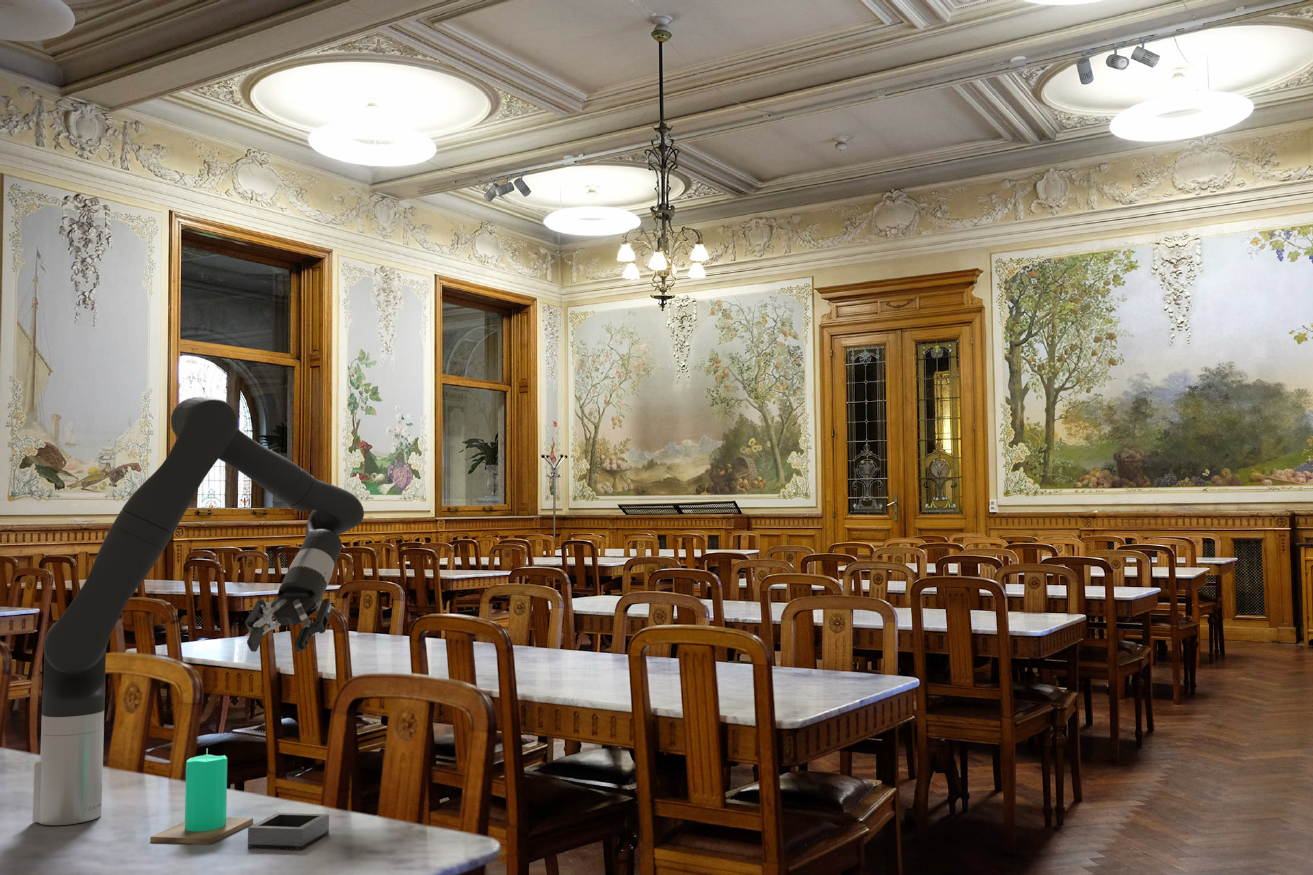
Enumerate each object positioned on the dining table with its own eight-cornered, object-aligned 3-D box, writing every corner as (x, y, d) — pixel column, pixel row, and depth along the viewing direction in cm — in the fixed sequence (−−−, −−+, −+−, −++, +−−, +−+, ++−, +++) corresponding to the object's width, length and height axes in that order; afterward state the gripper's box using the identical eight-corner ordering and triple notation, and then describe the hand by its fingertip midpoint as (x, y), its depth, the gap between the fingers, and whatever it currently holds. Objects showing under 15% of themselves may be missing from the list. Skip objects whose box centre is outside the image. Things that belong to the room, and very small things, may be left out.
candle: (211, 832, 169) (213, 752, 170) (176, 830, 170) (178, 751, 171) (233, 821, 174) (235, 744, 176) (199, 820, 176) (201, 743, 177)
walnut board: (150, 841, 166) (150, 836, 167) (196, 821, 178) (196, 816, 178) (211, 844, 165) (211, 838, 165) (253, 823, 177) (253, 817, 177)
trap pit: (247, 848, 162) (248, 827, 163) (277, 832, 171) (277, 812, 171) (301, 850, 161) (302, 829, 161) (328, 834, 170) (329, 814, 170)
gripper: (264, 565, 200) (228, 634, 188) (337, 564, 197) (306, 634, 185) (278, 592, 205) (244, 662, 192) (350, 592, 202) (320, 663, 190)
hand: (274, 648), depth 189 cm, fingers open, 8 cm apart
